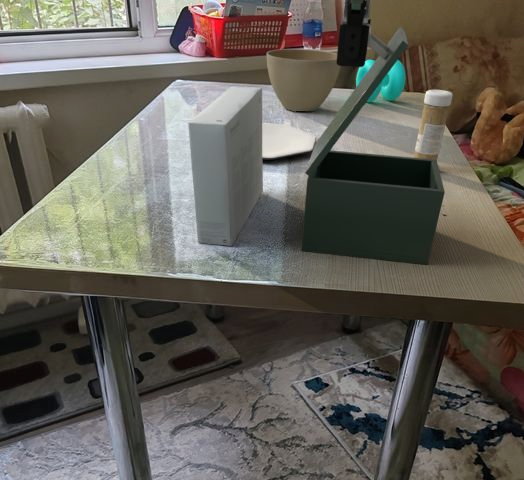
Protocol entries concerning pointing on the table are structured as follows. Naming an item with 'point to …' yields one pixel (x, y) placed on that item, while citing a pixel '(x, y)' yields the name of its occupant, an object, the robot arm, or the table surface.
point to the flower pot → (302, 77)
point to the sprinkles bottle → (432, 124)
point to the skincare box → (226, 163)
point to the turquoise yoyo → (385, 81)
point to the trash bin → (373, 207)
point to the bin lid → (359, 94)
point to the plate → (285, 141)
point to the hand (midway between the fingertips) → (351, 59)
